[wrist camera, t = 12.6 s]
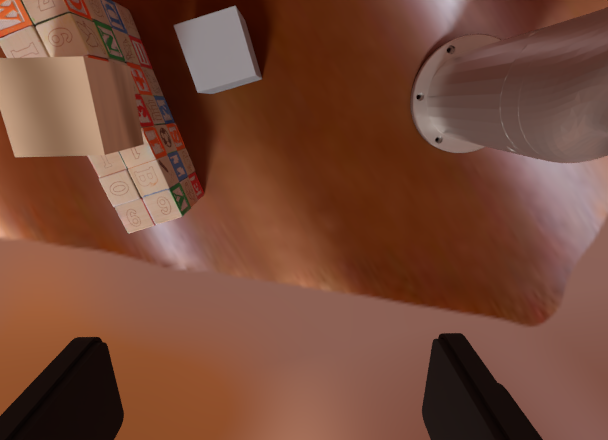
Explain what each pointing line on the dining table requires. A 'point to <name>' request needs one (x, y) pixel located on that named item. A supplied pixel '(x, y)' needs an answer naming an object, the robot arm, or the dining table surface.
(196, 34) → the bluegrey block
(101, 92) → the maple cube
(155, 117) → the stack of blocks
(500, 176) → the dining table surface
